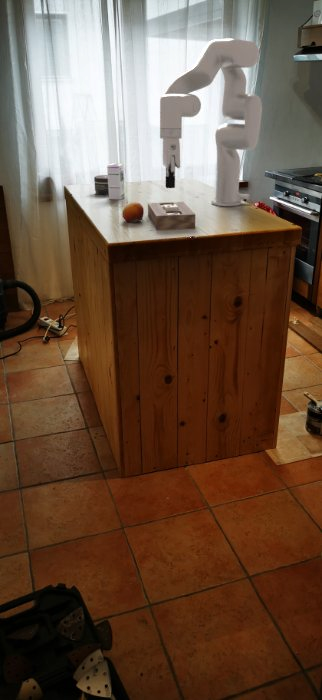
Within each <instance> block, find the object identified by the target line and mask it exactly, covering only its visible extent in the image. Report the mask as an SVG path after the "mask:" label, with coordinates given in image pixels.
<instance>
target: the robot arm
mask: <svg viewBox="0 0 322 700" xmlns="http://www.w3.org/2000/svg"><path fill="white" fill-rule="evenodd" d="M259 59H260V50H259V46H258V45H257V44H256V43H255V42H254V41H251V40H245V39H238V38H221V39H213V40H210V41H209V42H207V44H206V46H205V47H204V49H203V50H202V52H201V54H200V55H199V57H198V58H197V59H196V62H195V63H194V65H193V67H191V68H190V69H189V70H187V71H185V72H184V73H182V74H181V75H179V76H178V77H177V78H176V79H175V80H173V81H172V82H171V83H170V85H169V86H168V88H167V89H166V91H165V93H164V94H163V95H161V97H160V99H159V100H160V101H159V138H160V139H162V165H163V166H164V167H165V188H166V189H175V188H176V168H177V169H180V168H181V145H180V144H181V143H180V139H182V133H183V131H182V128H183V127H182V126H183V125H182V122H183V119H182V118H193V117H195V116H197V115H198V114H199V113H200V111H201V108H202V107H201V106H202V103H201V100H200V98H199V97H198V96H197V95H195V94H192V93H193V92H196V91H199V90H202V89H205V88H207V87H208V86H210V85H211V84H212V83H213V82H214V79H215V78H216V77H217V76H216V75H217V74H218V72H219V71H220V70H221V71H222V75H223V78H224V85H223V86H224V87H223V96H222V97H223V99H222V105H221V106H222V108H221V109H222V110H221V114H222V116H223V118H224V119H226V120H232V121H244V124H243V123H230V122H229V123H228V122H227V123H223V124H220V125H219V126H218V127H217V129H216V130H215V145H216V176H215V177H216V179H215V198H213V199H212V200H211V205H214V206H217V207H237V206H240V205H242V200H244V199H245V200H249V199H250V194H248V193H247V194H245V193H240V191H239V190H240V189H239V187H240V170H241V169H240V168H241V158H240V155H239V153H238V151H237V150H239V151H240V150H241V151H252V150H254V149H255V148H256V146H257V144H258V142H259V138H260V137H259V136H260V129H261V121H262V114H263V105H262V100H261V98H260V97H259V95H257V94H254V93H246V92H247V78H246V74H245V72H244V70H243V69H242V68H245V69H246V68H253V67H254V66H256V64H257V63H258V61H259Z"/></svg>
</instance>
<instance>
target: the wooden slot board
mask: <svg viewBox="0 0 322 700" xmlns="http://www.w3.org/2000/svg"><path fill="white" fill-rule="evenodd" d="M169 204H176V205H177V206H178V210H164V206H161V205H169ZM167 213H180V214H171V215H168V214H167ZM147 217H148V218H149V219H148V220H150V221H151V224H152V225H153V227H154V229H155V230H156V231H163V230H164V231H165V230H166V231H167V230H187V229H188V230H189V229H190V230H192V229H196V213H195V211H193V210H192V209H191V207H189V206H188V205H187V204H186V203H185V202H184V201H172V202H171V201H169V202H167V201H166V202H148V203H147Z"/></svg>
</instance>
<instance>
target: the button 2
mask: <svg viewBox="0 0 322 700" xmlns="http://www.w3.org/2000/svg"><path fill="white" fill-rule="evenodd" d="M164 210H178V206H177V205H176V204H169V205H164Z"/></svg>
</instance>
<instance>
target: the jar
mask: <svg viewBox="0 0 322 700" xmlns="http://www.w3.org/2000/svg"><path fill="white" fill-rule="evenodd" d="M93 180H94V181H93V182H94V191H95V194H96V195H99V196H109V189H108V174H100V175H95V176H94V178H93Z"/></svg>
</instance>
